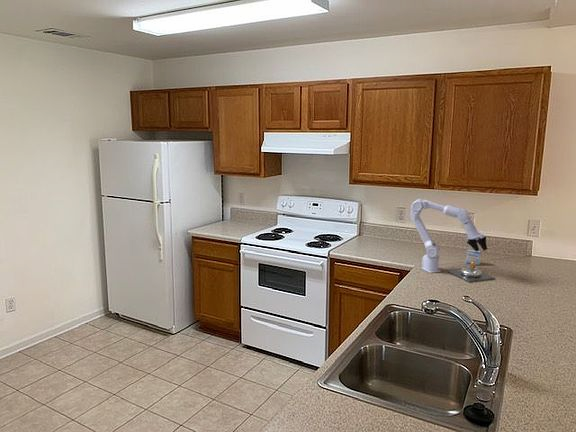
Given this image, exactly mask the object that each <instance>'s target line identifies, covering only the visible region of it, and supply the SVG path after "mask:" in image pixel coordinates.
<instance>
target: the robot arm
mask: <svg viewBox="0 0 576 432" xmlns="http://www.w3.org/2000/svg"><path fill="white" fill-rule="evenodd" d="M427 209H432V210H434V211H435V210H436V211H440V212H443V213H444V215H445V216H449V217H453V218H457V220H458V221H460V223H461V226H462V227H463V229H464V231H465V233H466V234H467V237H465V239H466V244H467V245H469V246H470V247H471V248H473V249H472V250H475V251H476V252H477V251H480V248H479V246H480V247H481V249H482V250H483V251H484V252H485V251H486V250H488V246H487V237H486V236H485V235H484V233H481V232H479V231H478V230H477V227H476V226H475V223H474V222H473V219H471V218H472V217H470V215H469V214H470V213H469V211H468V210H467V209H465V208H461V207H456V206H453V205H452V204H450V205H449V204H447V205H442V204H440V203H436V202H433V201H431V200H427V199H422V198H417V199H416V200H415V201H413V202H412V203H411V206H410V215H409V218H410V220H411V222H412V223H413V225H414V227H415V228H416V231H417V233H418V234H419V236H420V238H421V240H422V241H423V243H424V247H425V249H426V254H424V255H423V256H422V260H421V261H422V262H421V267H420V269H421V270H423V271H425V272H427V273H429V274H432V273H441V272H442V270H439V262H440V261H439V260H440V255H439V252H440V246H439V245H438V244H436V242H435V241H434V240H433V239H432V236H431V235H430V233H429V232H428V230H427V228H426V226H425V224H424V222H423V221H422V219H421V217H420V215H421V213H422V211H423V210H427Z"/></svg>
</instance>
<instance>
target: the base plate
mask: <svg viewBox="0 0 576 432" xmlns="http://www.w3.org/2000/svg"><path fill="white" fill-rule="evenodd" d="M447 274H450V275H452V276H454V277H456V278H459V279H460V280H463V281H465V282H467V283H469V284H470V283H477V282H484V281H485V280H486V281H492V280H493V279H494V280H496V277H494V276H492V275H489V274H487V273H485V272H484V271H483V272H482V274H481V276H480V277H469V276H465V275H463V274H461V269H455V270H448V271H447Z"/></svg>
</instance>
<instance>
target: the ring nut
mask: <svg viewBox="0 0 576 432" xmlns="http://www.w3.org/2000/svg"><path fill="white" fill-rule="evenodd" d="M460 270H461V274H463V275H465V276H469V277H480V276H481V274H482V270H481V269H479V268H478V267H476V265H475V262H474V261H471V265H470V266H465V267H461V269H460Z"/></svg>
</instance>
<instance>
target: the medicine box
mask: <svg viewBox="0 0 576 432" xmlns="http://www.w3.org/2000/svg"><path fill="white" fill-rule="evenodd" d="M481 254H482V251H481V250H478V251H477V252H476V251H475V250H474V249H467V251H466V259H465V264H466V265H470V266H471V261H474V262H475V266H480V263H481Z"/></svg>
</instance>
